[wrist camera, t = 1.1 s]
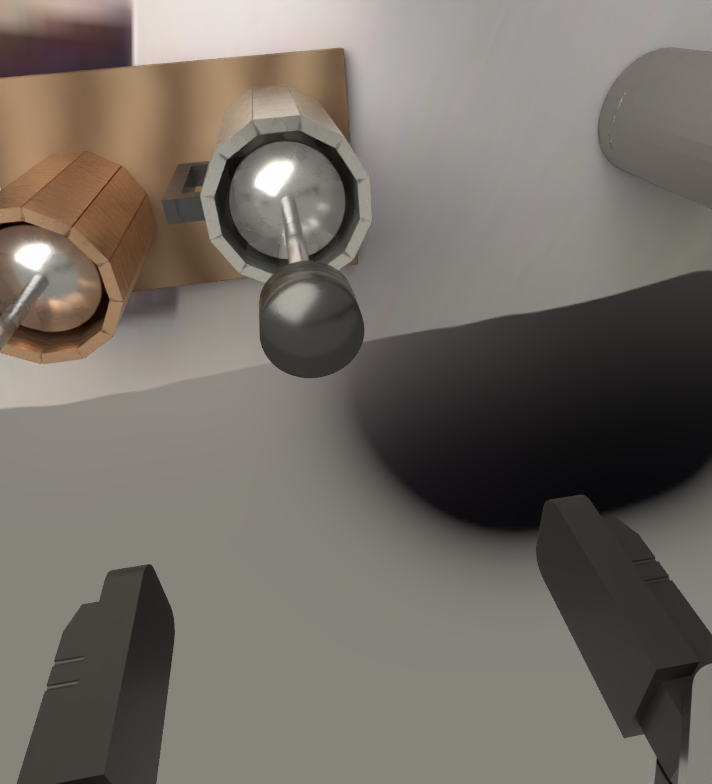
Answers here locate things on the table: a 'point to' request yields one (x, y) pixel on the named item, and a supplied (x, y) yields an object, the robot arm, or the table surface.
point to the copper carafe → (83, 241)
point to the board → (156, 133)
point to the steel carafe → (238, 138)
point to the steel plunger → (297, 256)
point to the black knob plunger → (44, 281)
